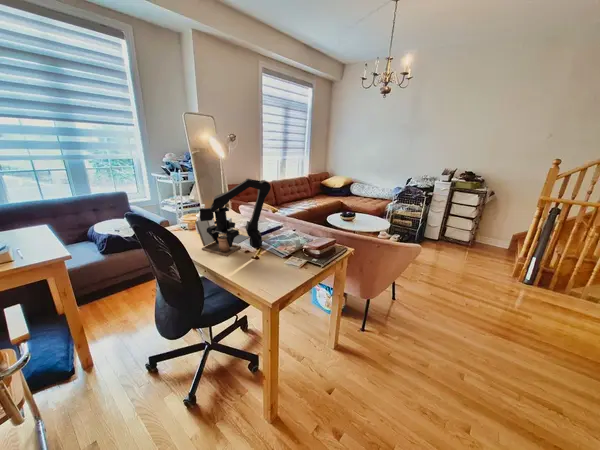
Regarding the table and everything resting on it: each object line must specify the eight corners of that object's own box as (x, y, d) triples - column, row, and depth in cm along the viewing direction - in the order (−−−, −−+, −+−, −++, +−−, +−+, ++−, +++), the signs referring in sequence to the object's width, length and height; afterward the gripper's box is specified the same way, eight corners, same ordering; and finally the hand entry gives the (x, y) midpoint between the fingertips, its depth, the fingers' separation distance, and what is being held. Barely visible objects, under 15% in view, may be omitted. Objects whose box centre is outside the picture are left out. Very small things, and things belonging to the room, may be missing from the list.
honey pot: (196, 228, 172) (192, 204, 165) (215, 226, 176) (212, 202, 170) (196, 235, 160) (191, 209, 154) (216, 232, 164) (213, 207, 158)
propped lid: (206, 217, 142) (206, 217, 142) (195, 221, 135) (194, 221, 136) (214, 241, 145) (214, 241, 145) (204, 246, 138) (203, 246, 139)
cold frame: (241, 249, 140) (238, 221, 134) (226, 258, 130) (222, 228, 124) (210, 241, 150) (207, 215, 144) (195, 249, 140) (190, 221, 134)
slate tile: (249, 238, 155) (249, 236, 154) (238, 244, 146) (238, 243, 145) (236, 235, 159) (236, 233, 159) (224, 241, 150) (224, 239, 150)
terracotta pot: (232, 248, 139) (231, 236, 136) (225, 253, 133) (223, 240, 131) (224, 246, 141) (223, 234, 139) (216, 250, 136) (215, 238, 133)
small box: (233, 232, 165) (231, 217, 161) (230, 235, 160) (228, 220, 156) (222, 232, 166) (220, 217, 162) (218, 235, 160) (216, 220, 157)
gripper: (244, 217, 134) (246, 243, 139) (219, 212, 142) (222, 237, 147) (230, 223, 124) (233, 251, 130) (204, 218, 133) (208, 244, 138)
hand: (224, 245), depth 136 cm, fingers open, 9 cm apart
